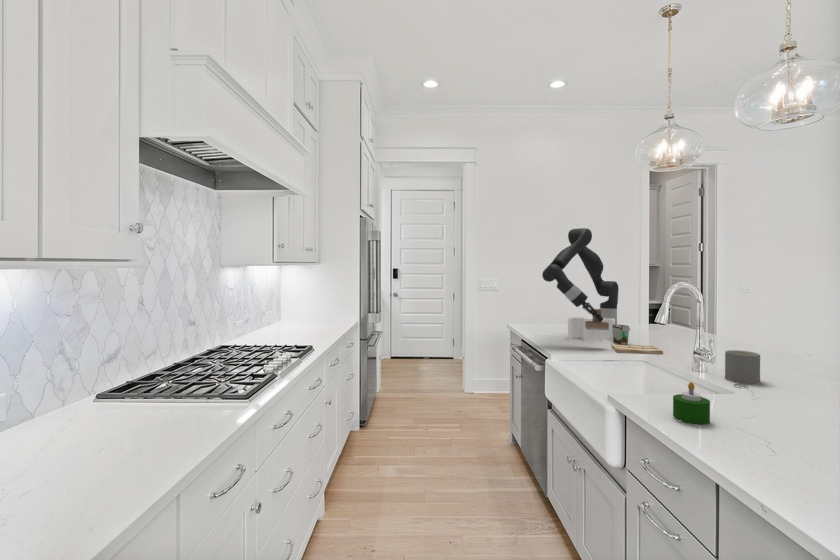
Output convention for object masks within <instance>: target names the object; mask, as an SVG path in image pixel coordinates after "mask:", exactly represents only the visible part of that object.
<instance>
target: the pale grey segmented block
mask: <svg viewBox="0 0 840 560" xmlns="http://www.w3.org/2000/svg"><path fill="white" fill-rule="evenodd" d="M585 321H593V318H592V319H591V318H587V317H578V316H577V317H572V316H571V317H567V339H568V338H569V339H568V340H570V339H572V340H573V338H572V337H582V338H581V339H582V340H583V341H584V340H585V341H593V340H600V341H599V342H603V340H610V339H611V340H610V341H611V342H613V328H612V326H613V324H615V319H610V318H603V320H602V321H603V322H608V323H609V330H587V329H586V328H585Z"/></svg>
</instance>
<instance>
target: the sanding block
mask: <svg viewBox="0 0 840 560" xmlns="http://www.w3.org/2000/svg"><path fill="white" fill-rule="evenodd" d="M594 309H595V311H596V312H598V314H599V315H600V316H601V309H600V308H594ZM595 311H593V313H594V312H595ZM592 319H593V321H585V328H586V329H587V330H609V323H608V322H603V321H601V322H600V321H599V320H598V319H596V318H595V317H594V316H593V315H592Z"/></svg>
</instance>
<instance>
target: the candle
mask: <svg viewBox="0 0 840 560" xmlns="http://www.w3.org/2000/svg"><path fill="white" fill-rule="evenodd" d="M687 387H688V391H682V392H681V393H680V394H673V396H672V417H673V416H674V417H675V418H676V419H678V420H681V421H683V422H682V423H684V422H686V423H685V424H689V423H690V424H689V425H695V424H697V425H698V426H702V425H703V426H705V424H706V425H709V424H710V423H711V400H709V399H708V398H706V397H703V396H702V395H701V394H700V393H696V392H695V384H694V383H693V382H692V381H690V382H689V383H688V385H687ZM674 417H673V418H674ZM675 418H674V419H675ZM676 419H675V420H676ZM678 420H677V421H678ZM681 421H680V422H681ZM697 425H696V426H697Z"/></svg>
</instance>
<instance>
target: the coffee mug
mask: <svg viewBox="0 0 840 560" xmlns="http://www.w3.org/2000/svg"><path fill="white" fill-rule="evenodd" d="M726 379H727V380H726ZM724 380H726V381H728V380H729V382H731V381H733V383H736V382H738V383H737V384H742V383H745V385H758V383H759V384H761V353H759V352H754V351H749V350H737V349H729V350H728V349H727V350H725V352H724Z"/></svg>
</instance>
